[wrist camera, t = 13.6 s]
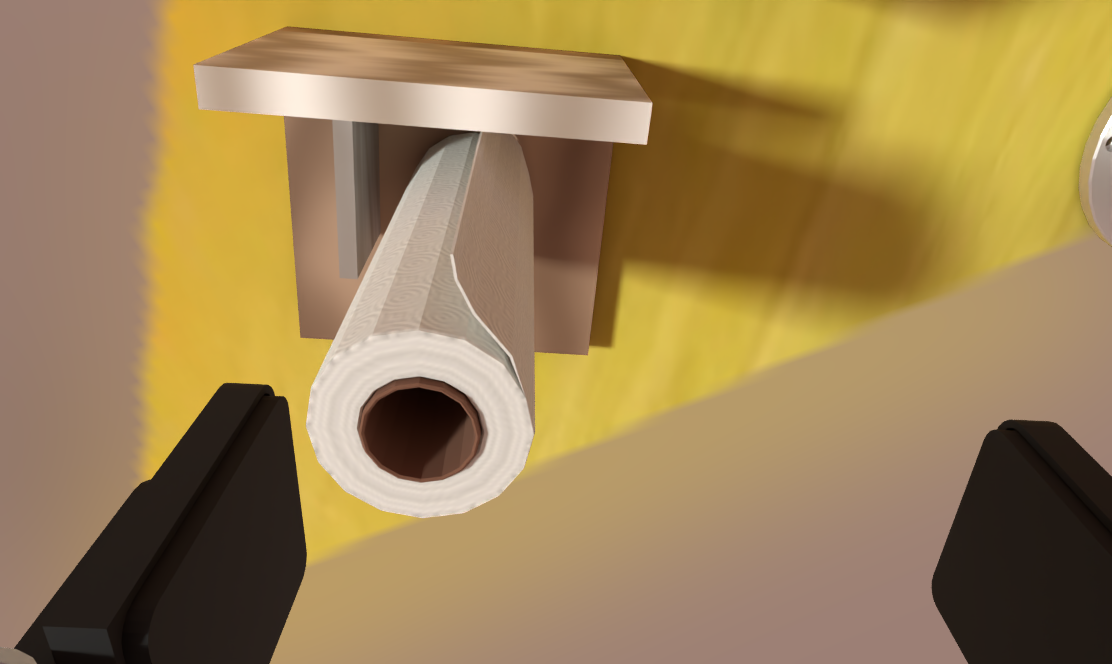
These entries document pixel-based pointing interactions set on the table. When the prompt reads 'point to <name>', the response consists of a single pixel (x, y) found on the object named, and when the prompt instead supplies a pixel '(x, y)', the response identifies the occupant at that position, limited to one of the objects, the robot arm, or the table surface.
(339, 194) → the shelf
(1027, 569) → the robot arm
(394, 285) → the paper towel roll
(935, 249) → the table surface
